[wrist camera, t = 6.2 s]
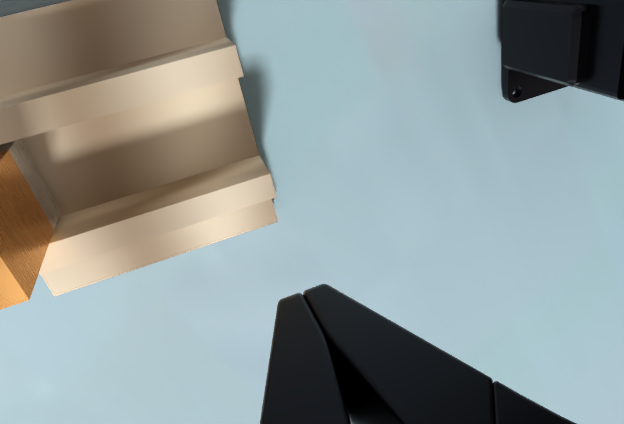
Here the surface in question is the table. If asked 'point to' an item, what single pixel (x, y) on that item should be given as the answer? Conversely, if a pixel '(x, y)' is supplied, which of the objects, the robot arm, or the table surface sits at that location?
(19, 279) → the lock bolt
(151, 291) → the table surface
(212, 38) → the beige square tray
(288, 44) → the table surface
